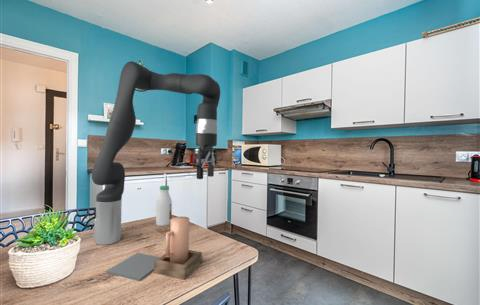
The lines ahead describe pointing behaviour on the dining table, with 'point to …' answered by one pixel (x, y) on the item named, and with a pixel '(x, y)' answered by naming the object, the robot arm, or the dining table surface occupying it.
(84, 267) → the dining table surface
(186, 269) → the walnut collar
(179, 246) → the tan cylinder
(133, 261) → the charcoal mat
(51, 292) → the dining table surface
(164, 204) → the milk bottle
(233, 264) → the dining table surface
